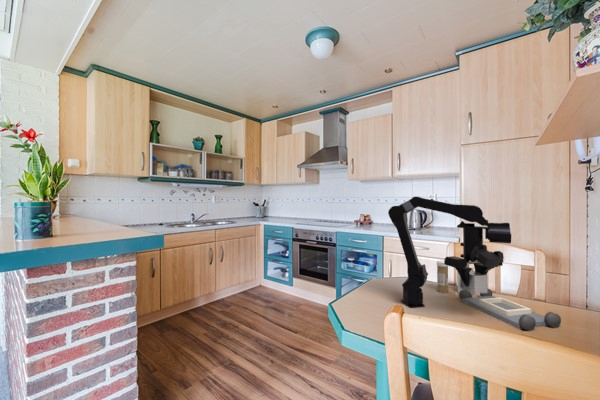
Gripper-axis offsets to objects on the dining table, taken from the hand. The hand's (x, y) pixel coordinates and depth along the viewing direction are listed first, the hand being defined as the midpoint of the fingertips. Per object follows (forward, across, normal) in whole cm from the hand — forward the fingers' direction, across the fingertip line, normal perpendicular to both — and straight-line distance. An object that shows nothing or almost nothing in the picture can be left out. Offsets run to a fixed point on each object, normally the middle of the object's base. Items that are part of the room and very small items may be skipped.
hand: (473, 285), depth 89 cm
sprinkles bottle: (+11, +8, +24) cm, 28 cm away
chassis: (+11, +14, +1) cm, 18 cm away
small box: (+11, +18, +22) cm, 31 cm away
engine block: (+2, 0, 0) cm, 2 cm away
